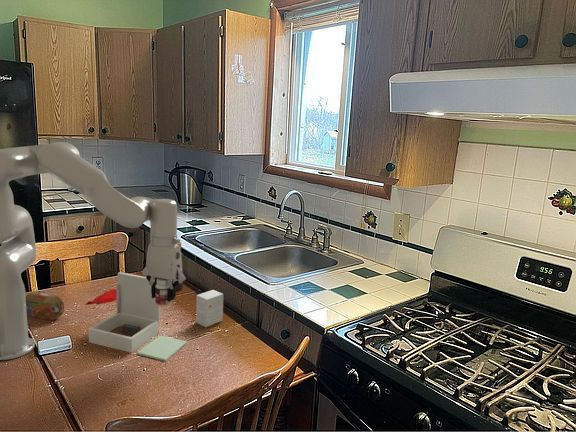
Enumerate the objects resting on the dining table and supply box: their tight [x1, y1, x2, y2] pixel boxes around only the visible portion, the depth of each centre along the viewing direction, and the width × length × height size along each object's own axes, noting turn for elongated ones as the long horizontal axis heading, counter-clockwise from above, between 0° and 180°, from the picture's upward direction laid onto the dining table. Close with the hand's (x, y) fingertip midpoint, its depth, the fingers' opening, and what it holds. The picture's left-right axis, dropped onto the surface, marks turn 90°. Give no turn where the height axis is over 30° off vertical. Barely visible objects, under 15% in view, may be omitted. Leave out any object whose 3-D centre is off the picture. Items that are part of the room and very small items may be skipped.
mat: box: [137, 335, 188, 362], centre depth 137 cm, size 12×10×1 cm
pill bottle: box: [155, 278, 173, 308], centre depth 133 cm, size 5×5×8 cm
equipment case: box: [88, 271, 162, 354], centre depth 141 cm, size 15×16×18 cm
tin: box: [26, 292, 65, 321], centre depth 152 cm, size 15×3×8 cm, turn 76°
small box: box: [195, 289, 224, 328], centre depth 157 cm, size 8×6×10 cm
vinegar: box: [176, 241, 184, 292], centre depth 184 cm, size 7×7×20 cm
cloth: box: [85, 288, 117, 306], centre depth 175 cm, size 26×14×2 cm, turn 127°
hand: (163, 297), depth 134 cm, fingers closed on pill bottle, 4 cm apart
